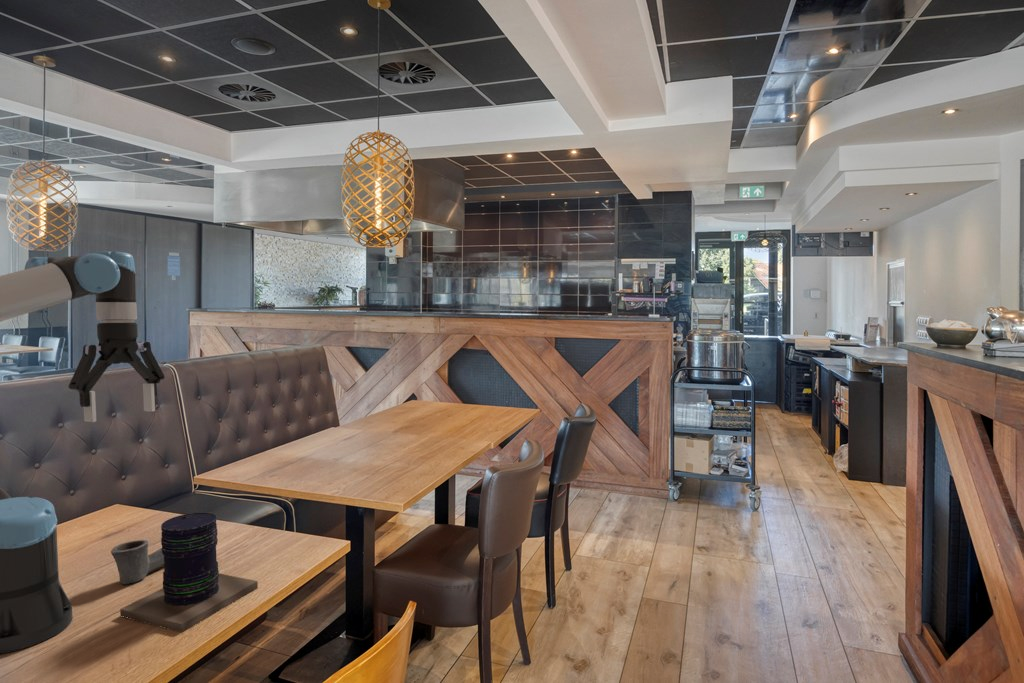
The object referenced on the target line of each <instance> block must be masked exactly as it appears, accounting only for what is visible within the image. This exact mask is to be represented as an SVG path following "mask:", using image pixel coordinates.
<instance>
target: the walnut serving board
mask: <svg viewBox="0 0 1024 683" xmlns="http://www.w3.org/2000/svg"><path fill="white" fill-rule="evenodd" d="M218 580H219V581H218V585H219V591H218V592H217V594H216V595H214V596H213V597H211V598H210V599H208V600H205V601H203V602H200V603H197V604H193V605H188V606H170V605H167V604H166V603H165V602H164V596H165V594H164V589H163V587H162V588H161V589H158V590H156V591H154V592H152V593H150V594H148V595H146V596H145V597H142V598H139V599H137V600H135V601H134V602H132V603H129V604H128V605H125V606H124V607H121V608H120V609H119V613H120V617H121V616H124V617H128V618H131V619H130V620H132V619H134V620H133V621H136V620H137V621H136V622H140V621H142V622H141V623H143V622H146V623H145V624H147V623H150V624H149V625H151V624H154V625H153V626H155V625H157V627H159V626H162V627H161V628H163V627H165V628H164V629H167V628H169V629H168V630H171V629H172V631H176V632H180V633H184V632H185V631H187V630H189V629H190V628H192V627H194V626H195V624H196V625H197V624H199V623H201V622H202V621H204V620H206V619H208V618H209V617H211V616H213V615H214V614H216V613H218V612H220V611H221V610H223V609H225V608H226V607H228V606H229V604H230V605H231V604H233V603H234V602H236V600H237V601H238V600H240V599H242V598H243V597H245V596H247V595H248V594H251V593H252V592H254V591H255V590H257V589H258V588H259V587H258V586H259V585H258V583H259V582H258V580H253V579H248V578H243V577H239V576H233V575H229V574H223V573H219V578H218ZM241 597H242V598H241ZM232 602H233V603H232ZM225 606H226V607H225ZM224 607H225V608H224ZM222 608H223V609H222ZM220 609H221V610H220ZM217 611H218V612H217ZM212 614H213V615H212ZM124 617H123V618H124ZM128 618H127V619H128ZM200 621H201V622H200ZM198 622H199V623H198ZM193 625H194V626H193Z"/></svg>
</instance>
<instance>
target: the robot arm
mask: <svg viewBox="0 0 1024 683" xmlns="http://www.w3.org/2000/svg"><path fill="white" fill-rule="evenodd" d="M26 260H27V259H26ZM136 274H137V272H136V265H135V259H134V256H133V255H132V254H131V253H128V252H123V251H110V250H105V251H104V250H103V251H102V250H101V251H95V252H94V253H92V252H88V253H85V254H82V255H81V254H80V255H72V256H65V257H49V256H32V257H29V258H28V260H27V261H26V262H25V264H24V269H22V270H17V271H13V272H11V273H5V274H2V275H0V322H4V321H7V320H10V319H14V318H18V317H20V316H24V315H26V314H30V313H33V312H36V311H39V310H42V309H45V308H49V307H51V306H55V305H56V306H57V305H59V304H62V303H65V302H68V301H71V300H75V299H79V298H82V297H86V296H90V295H91V296H93V295H95V309H96V310H95V311H96V320H97V321H100V322H99V323H97V324H96V334H97V335H96V338H97V340H98V345H95V344H84V345H83V346H82V355H81V358H80V360H79V362H78V364H77V367H76V369H75V371H74V374H73V375H72V378H71V380H70V382H69V384H68V389H69V390H74V391H76V392H78V393H79V405H80V407H82V408H83V421H84V422H89V423H95V422H97V406H96V405H97V404H96V391H95V390H92V389H93V388H94V386H95V385H96V384H97V382H98V381H99V380H100V379H101V377H102V376H103V374H104V373H105V371H106V370H107V369H108V368H109V367H110V366H112V365H117V364H129V365H130V366H131V367H132V368H133V369H134V370H135V372H136V373H138V375H139V376H140V377H141V378H142V379H143V380H144V381H145V382H146V383H145V382H144V383H142V398H143V399H142V400H143V401H142V402H143V412H156V403H155V402H156V401H155V399H156V398H155V397H157V395H158V393H157V392H158V389H157V388H158V387H157V384H160V382H161V380H164V379H165V378H166V377H165V374H164V373H163V372H164V371H163V370H162V368H161V367H160V365H159V363H158V360H157V359H156V357H155V355H154V353H153V351H152V346H151V342H149V341H139V342H137V338H138V337H139V334H138V333H139V332H138V324H137V322H135V321H136V320H138V308H137V297H136V296H137V295H136V294H137V291H136V276H137V275H136ZM137 351H138V352H139V354H140V356H141V358H142V359H141V358H140V357H139V355H138V353H137ZM98 354H100V355H99V357H97V360H96V361H95V359H96V356H97V355H98ZM142 360H143V361H142ZM94 362H95V364H94ZM143 362H144V363H143ZM93 364H94V365H93ZM57 525H58V518H57V514H56V509H55V506H54V503H52V502H51V501H49V500H47V499H45V498H42V497H37V496H36V497H29V496H20V497H19V496H16V497H11V496H10V494H8V492H7V491H5V490H4V489H3V488H2V487H1V486H0V655H1V654H6V653H11V652H15V651H18V650H22V649H25V648H28V647H31V646H34V645H37V644H39V643H42V642H44V641H47V640H48V639H50V638H52V637H54V636H56V635H58V634H59V633H61V632H63V631H64V630H65V629H66V628H68V627H69V625H70V624H71V623H72V621H73V616H74V615H73V606H72V603H71V602H70V599H69V598H68V595H67V594H66V592H65V590H64V588H63V586H62V584H61V582H60V577H59V555H58V554H59V552H58V530H57V529H58V528H57V527H58V526H57Z"/></svg>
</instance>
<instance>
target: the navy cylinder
mask: <svg viewBox="0 0 1024 683" xmlns="http://www.w3.org/2000/svg"><path fill="white" fill-rule="evenodd" d="M160 525H161V526H160V528H161V538H160V541H161V542H160V543H161V548H162V549H161V548H160V549H161V550H162V554H163V555H164V565H163V566H164V567H163V572H162V573H163V574H162V578H163V579H162V588H163V589H164V594H165V596H164V602H165V603H166V604H167V605H170V606H188V605H193V604H197V603H200V602H203V601H205V600H208V599H210V598H211V597H213V596H214V595H216V594H217V592H218V591H219V585H218V581H219V580H218V578H219V574H220V570H219V563H218V561H217V559H218V558H217V545H218V525H217V515H215V514H214V513H210V512H193V513H186V514H181V515H177V516H174V517H171V518H168V519H167V520H165V521H163V522H162V523H161V524H160Z"/></svg>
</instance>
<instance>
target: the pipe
mask: <svg viewBox="0 0 1024 683" xmlns="http://www.w3.org/2000/svg"><path fill="white" fill-rule="evenodd" d="M161 549H162V547H161V548H159V549H158V550H156V551H154V552H152V553H150V554H148V550H149V541H148V540H147V539H146V540H145V539H140V540H139V539H138V540H131V541H127V542H123V543H120V544H118V545H115V546H114V547H113V548H112V549H111V550H110V554H111V555H112V557H113V559H114V561H115V564H116V567H117V571H118V576H119V582H120V583H121V585H131V584H134V583H137V582H140V581H142V580H143V579H145V578H146V577H147V575H148V574H150V573H152V572H154V571H156V570H158V569H159V568H161V567H163V566H164V555H163V554H162V550H161ZM130 583H131V584H130Z"/></svg>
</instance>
